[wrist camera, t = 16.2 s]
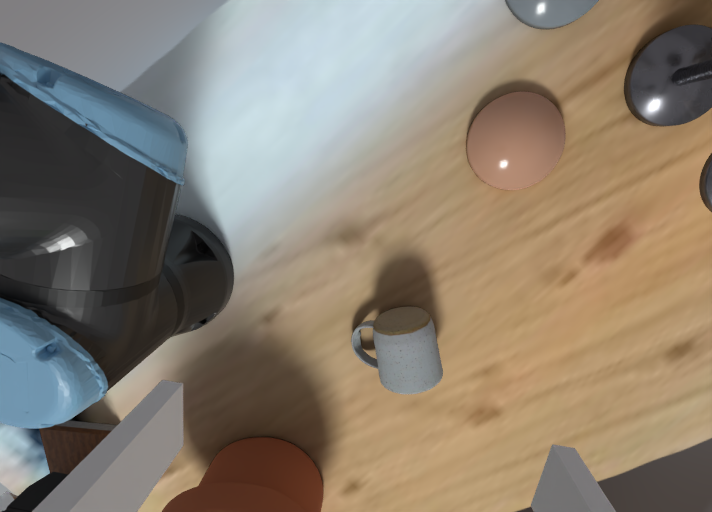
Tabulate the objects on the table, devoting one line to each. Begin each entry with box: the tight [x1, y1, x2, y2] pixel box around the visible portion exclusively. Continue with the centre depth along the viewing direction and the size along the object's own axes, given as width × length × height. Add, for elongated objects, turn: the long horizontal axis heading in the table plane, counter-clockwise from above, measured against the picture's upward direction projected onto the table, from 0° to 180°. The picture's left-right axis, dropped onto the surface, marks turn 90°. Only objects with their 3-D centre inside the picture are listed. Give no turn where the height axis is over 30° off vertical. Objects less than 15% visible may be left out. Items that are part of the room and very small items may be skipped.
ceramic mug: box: [351, 306, 443, 394], centre depth 43 cm, size 11×8×8 cm
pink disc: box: [466, 92, 565, 190], centre depth 39 cm, size 10×10×1 cm
